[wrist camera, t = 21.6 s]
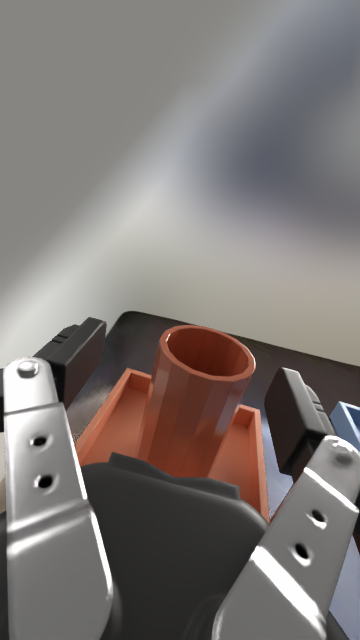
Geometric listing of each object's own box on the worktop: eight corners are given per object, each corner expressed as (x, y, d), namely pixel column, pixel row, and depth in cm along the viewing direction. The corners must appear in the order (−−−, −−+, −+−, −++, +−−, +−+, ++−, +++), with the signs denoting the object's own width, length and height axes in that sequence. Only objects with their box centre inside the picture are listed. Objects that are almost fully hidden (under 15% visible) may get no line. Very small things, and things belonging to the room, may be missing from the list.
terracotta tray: (36, 524, 17) (35, 501, 16) (124, 385, 30) (127, 367, 29) (260, 612, 16) (276, 592, 14) (251, 427, 28) (259, 410, 27)
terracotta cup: (122, 481, 20) (147, 359, 15) (148, 419, 26) (172, 317, 21) (205, 511, 19) (258, 394, 15) (213, 441, 25) (253, 340, 20)
